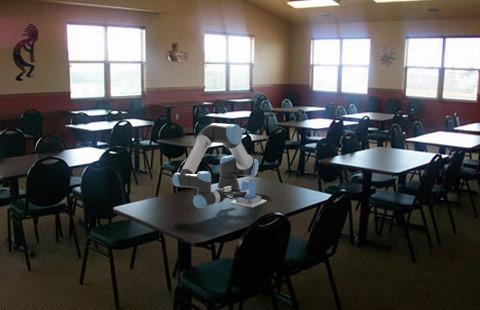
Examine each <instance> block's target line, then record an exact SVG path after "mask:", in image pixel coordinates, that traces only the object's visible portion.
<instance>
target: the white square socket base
mask: <svg viewBox="0 0 480 310" xmlns="http://www.w3.org/2000/svg"><path fill="white" fill-rule="evenodd" d="M264 203H267V199H263V198H262V196H261V195H257V194H255V198H252V199H250V200H249V199H244V198H235V199H233V200H231V201H230V204H233V205H237V206H243V207H248V208H255V207H257V206H259V205H261V204H264Z"/></svg>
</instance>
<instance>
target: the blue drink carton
mask: <svg viewBox="0 0 480 310" xmlns="http://www.w3.org/2000/svg"><path fill="white" fill-rule="evenodd" d="M248 189H249V194H248V195H245V197H243V198H244V199H249V200H250V199H252V198H255V195H256V181H255V180H248V179H247V180H246V179H245V180H244V181H242V182H241V191H244V190H248Z"/></svg>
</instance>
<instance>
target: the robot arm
mask: <svg viewBox="0 0 480 310" xmlns="http://www.w3.org/2000/svg"><path fill="white" fill-rule="evenodd" d="M242 140H243V130H242V128H241V126H240V125H239V124H234V123H216V122H215V123H210V124H208V125H206V126H205V127H204V128H202V130H200V131H199V133H198V134H197V136H196V138H195V144H194V146H193V148H192V149H191V150H190V152H189V155H188V156H187V159H186V160H185V162H184V164H183V166H182V168H181V169H180V171H179V172H175V173H174V174H173V175H172V178H171V179H172V184H173V186H175V187H180V188H190V189H191V188H192V189H197V190H196V195H194V196H193V199H192V203H193V205H194V207H196V208H197V209H202V208H206V207H210V206H214V205H216V204H219V203H222V202H224V201H225V199H229V200H232V199H233V200H234V199H236V198H243V197H245V195H248V194H249V189H248V190H244V191H242V190H241V191H239V190H240V183H239V180H238V176H243V177H245V176H246V177H250V178H251V177H256V176H257V174H258V170H259V165H260V163H259V160H258V159H256V158H254V157H252V155H250V154H248V152H247V150H246V149H245V146H244V145H243V143H242ZM213 143H216V144H222V145H223V146H224V147H225V148H226V149H228V150H229V151H230V153H231V154H229V155H224V156H221V157H220V160H219V180H218V184H217V188H216V189H214V190H212V174H211V172H210V171H206V170H202V171H198V172H197V170H198V168H199V165H200V163H201V162H202V159H203V157H204V155H206V151H207V150H208V148H210V147H211V146H212V144H213ZM196 172H197V173H196ZM195 173H196V174H195Z"/></svg>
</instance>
